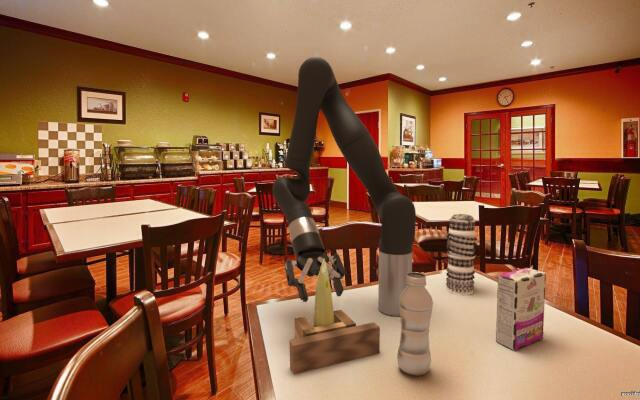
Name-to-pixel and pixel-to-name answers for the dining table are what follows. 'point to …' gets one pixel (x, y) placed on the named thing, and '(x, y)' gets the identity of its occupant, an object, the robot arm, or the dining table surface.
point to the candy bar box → (520, 308)
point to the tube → (323, 299)
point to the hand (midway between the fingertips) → (323, 297)
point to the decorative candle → (461, 254)
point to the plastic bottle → (415, 325)
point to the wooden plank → (334, 347)
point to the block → (306, 329)
